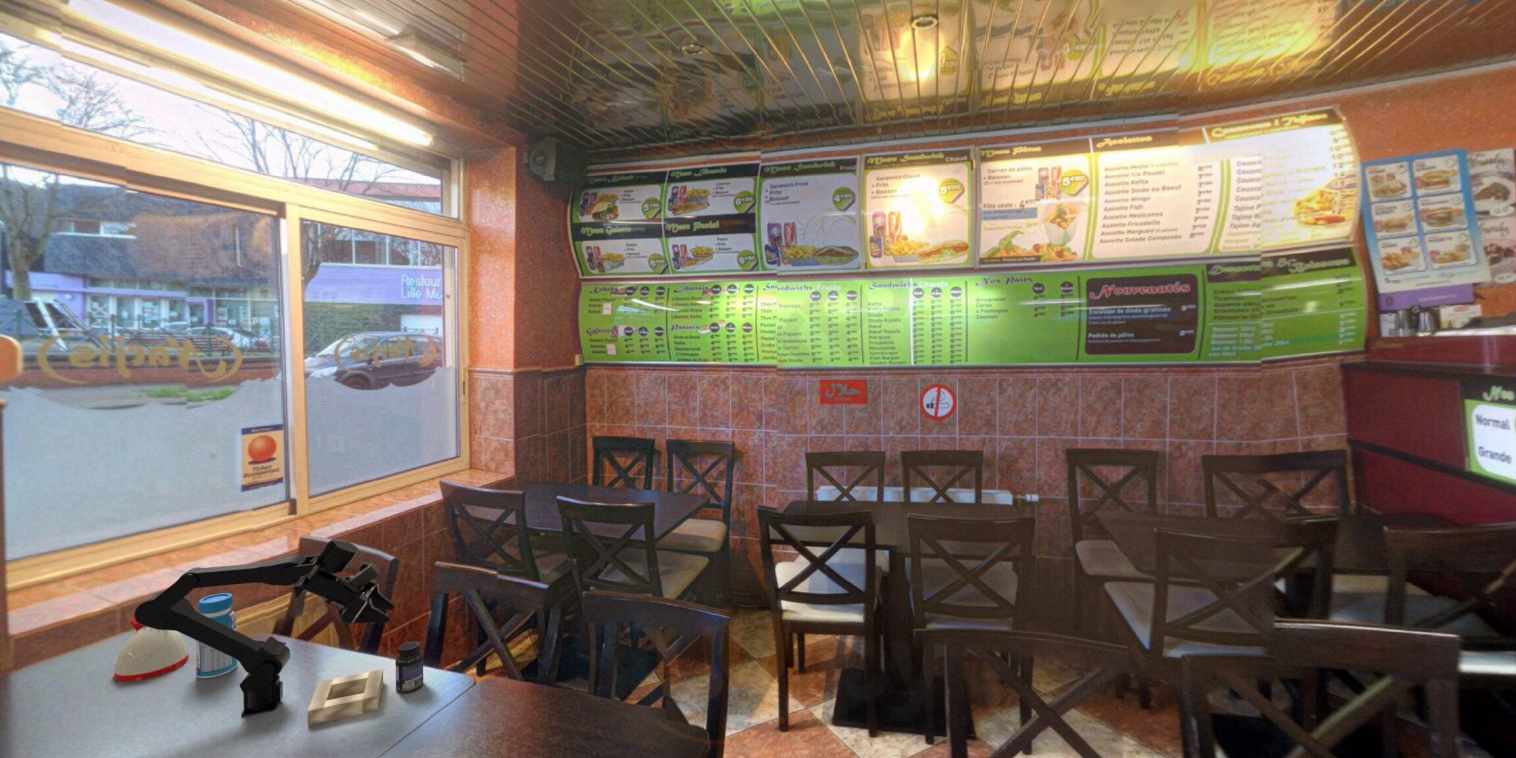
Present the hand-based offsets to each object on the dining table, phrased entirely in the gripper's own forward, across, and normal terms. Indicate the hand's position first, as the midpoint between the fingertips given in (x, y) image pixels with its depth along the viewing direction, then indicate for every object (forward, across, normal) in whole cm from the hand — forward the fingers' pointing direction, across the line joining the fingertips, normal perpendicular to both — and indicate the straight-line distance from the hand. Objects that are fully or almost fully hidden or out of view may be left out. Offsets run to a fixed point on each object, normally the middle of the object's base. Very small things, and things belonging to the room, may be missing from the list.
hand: (391, 613), depth 152 cm
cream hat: (-39, +36, +47) cm, 71 cm away
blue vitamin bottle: (-26, +27, +38) cm, 53 cm away
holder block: (+3, -4, +20) cm, 21 cm away
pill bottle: (+14, -3, +13) cm, 19 cm away
